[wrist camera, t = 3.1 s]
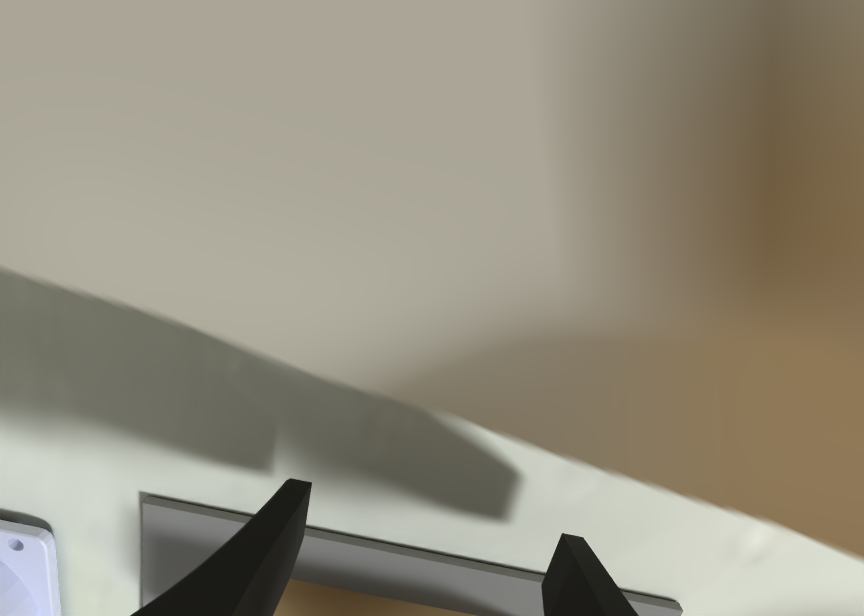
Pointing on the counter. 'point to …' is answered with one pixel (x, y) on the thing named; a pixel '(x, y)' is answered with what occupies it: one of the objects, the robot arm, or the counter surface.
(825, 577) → the counter surface
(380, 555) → the mat
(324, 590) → the oak T-block
